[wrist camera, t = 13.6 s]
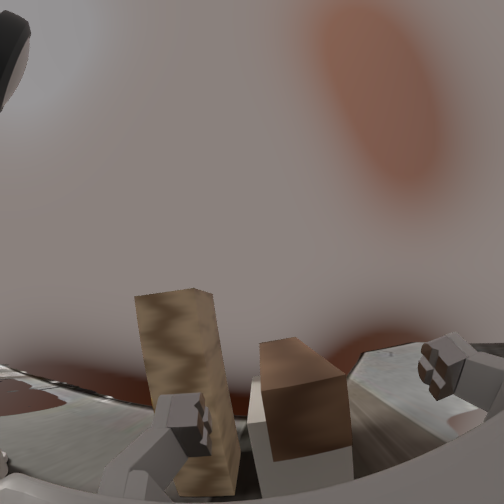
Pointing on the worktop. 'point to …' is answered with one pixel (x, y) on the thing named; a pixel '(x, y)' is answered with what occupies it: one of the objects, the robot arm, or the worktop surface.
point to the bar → (302, 401)
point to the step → (294, 470)
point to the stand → (191, 380)
